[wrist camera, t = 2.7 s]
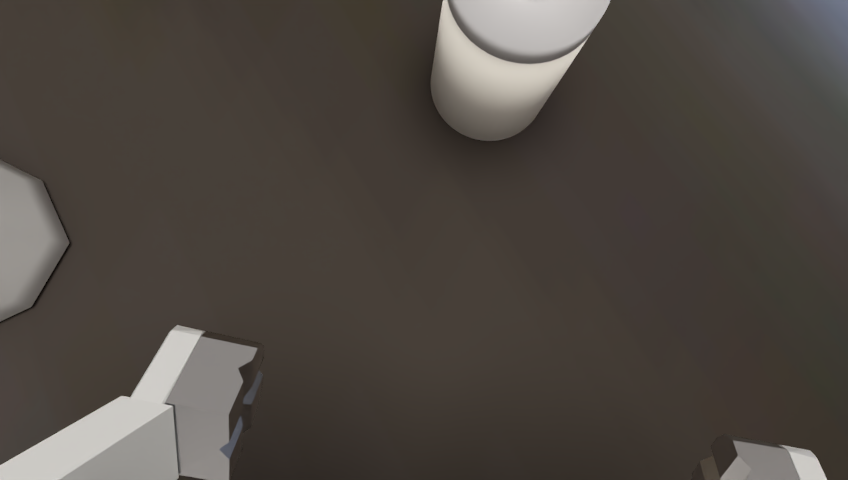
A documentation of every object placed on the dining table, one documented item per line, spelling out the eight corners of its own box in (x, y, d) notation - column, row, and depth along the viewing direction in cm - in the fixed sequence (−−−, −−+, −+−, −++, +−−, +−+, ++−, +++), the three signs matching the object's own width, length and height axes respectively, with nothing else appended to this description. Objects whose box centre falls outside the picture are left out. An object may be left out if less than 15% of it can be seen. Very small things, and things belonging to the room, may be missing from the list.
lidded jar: (515, 15, 29) (575, -143, 19) (563, 114, 28) (650, 3, 19) (412, 56, 28) (422, -85, 19) (459, 158, 28) (494, 66, 18)
